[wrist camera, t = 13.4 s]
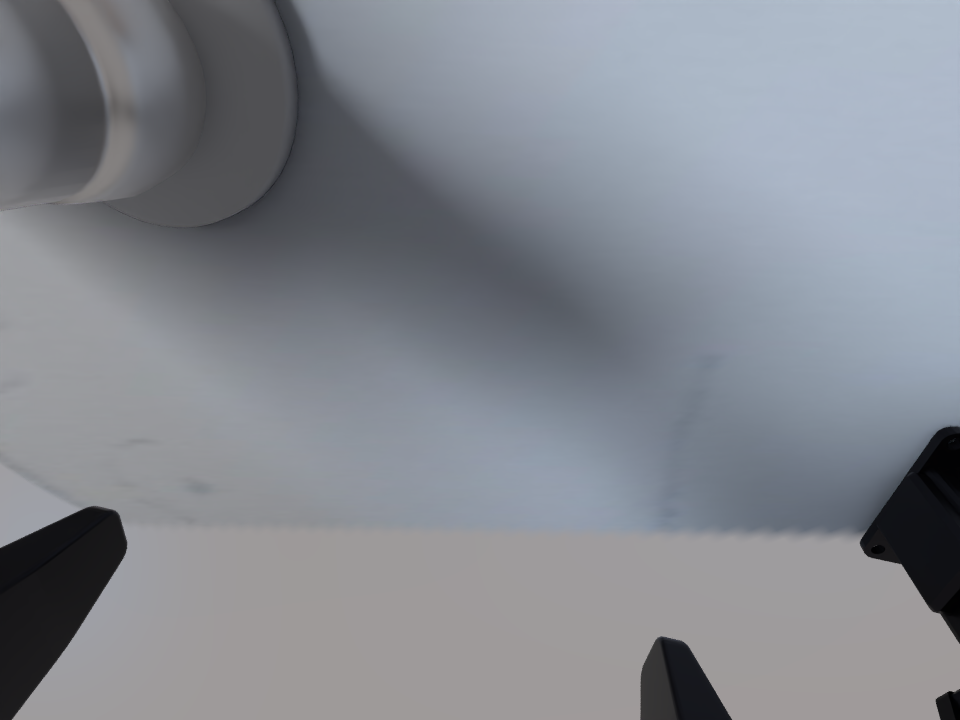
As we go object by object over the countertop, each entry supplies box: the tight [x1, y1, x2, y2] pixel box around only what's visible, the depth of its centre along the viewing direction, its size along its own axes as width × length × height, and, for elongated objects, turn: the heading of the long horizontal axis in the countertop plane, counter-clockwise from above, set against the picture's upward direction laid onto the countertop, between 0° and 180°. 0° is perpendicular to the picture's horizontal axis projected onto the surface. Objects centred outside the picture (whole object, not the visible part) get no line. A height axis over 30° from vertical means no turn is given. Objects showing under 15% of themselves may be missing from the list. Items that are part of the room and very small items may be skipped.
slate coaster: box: [102, 0, 298, 228], centre depth 18 cm, size 10×10×1 cm
